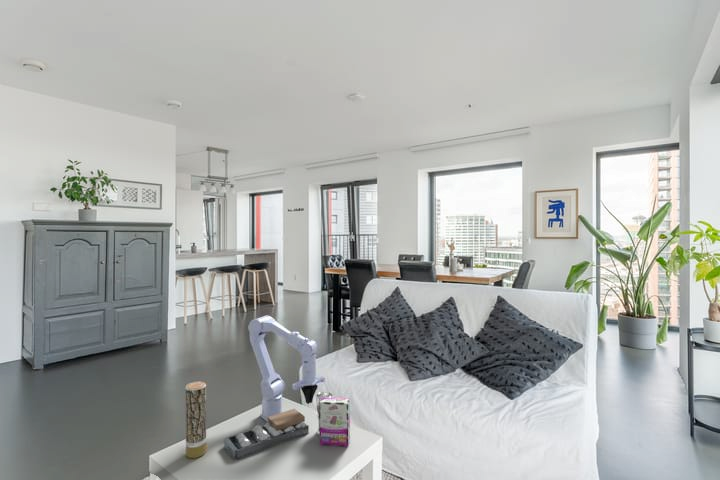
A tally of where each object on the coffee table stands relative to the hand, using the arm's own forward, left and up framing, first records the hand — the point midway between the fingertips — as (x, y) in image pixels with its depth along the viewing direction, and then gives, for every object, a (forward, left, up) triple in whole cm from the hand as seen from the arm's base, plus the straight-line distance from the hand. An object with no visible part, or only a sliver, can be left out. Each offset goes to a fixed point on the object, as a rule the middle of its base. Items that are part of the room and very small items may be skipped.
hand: (308, 402), depth 156 cm
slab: (0, -11, -5) cm, 12 cm away
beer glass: (+9, +2, -10) cm, 13 cm away
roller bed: (0, -19, -9) cm, 21 cm away
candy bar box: (+18, +1, -10) cm, 20 cm away
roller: (0, -28, -10) cm, 29 cm away
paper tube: (-7, -43, -10) cm, 45 cm away
